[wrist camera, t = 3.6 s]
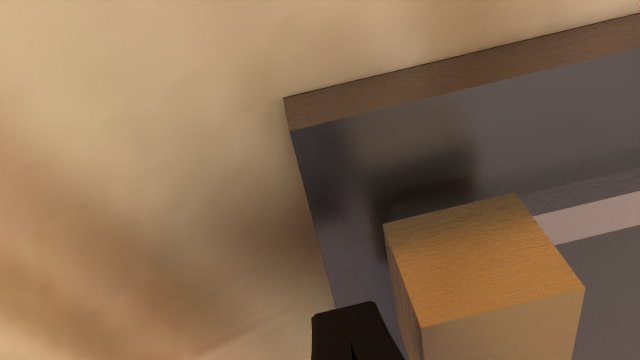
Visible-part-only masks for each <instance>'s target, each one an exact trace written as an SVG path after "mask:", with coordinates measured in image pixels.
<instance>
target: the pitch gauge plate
mask: <svg viewBox="0 0 640 360" xmlns="http://www.w3.org/2000/svg"><path fill="white" fill-rule="evenodd" d="M283 99H284V104H285V109H286V115H287V120H288V125H289V130H290V134H291V138H292V142H293V146H294V150H295V153H296V157H297V161H298V165H299V169H300V173H301V176H302V180H303V184H304V188H305V192H306V195H307V199H308V203H309V207H310V211H311V215H312V218H313V222H314V226H315V230H316V234H317V237H318V241H319V245H320V249H321V253H322V257H323V260H324V264H325V268H326V272H327V276H328V280H329V283H330V287H331V291H332V295H333V299H334V302H335V306H336V309H338V308H342V307H346V306H351V305H355V304H359V303H363V302H367V301H372V302H375V303H376V304H377V307H378V310H379V312H380V314H381V316H382V319H383V321H384V323H385V325H386V327H387V329H388V331H389V332H390V334H391V336H392V338H393V340H394V341H395V343H396V345H397V347H398V348H399V350H400V352H401V353H402V355H403V357H404V358H405V360H409V357H408V354H407V351H406V348H405V345H404V342H403V339H402V335H401V332H400V329H399V326H398V323H397V317H396V310H395V303H394V297H393V290H392V283H391V277H390V270H389V263H388V257H387V250H386V243H385V237H384V230H383V224H385V223H389V222H393V221H397V220H401V219H405V218H410V217H414V216H418V215H422V214H426V213H430V212H435V211H439V210H443V209H447V208H451V207H455V206H460V205H464V204H468V203H472V202H476V201H480V200H485V199H489V198H493V197H497V196H501V195H505V194H510V193H514V192H515V193H516V194H517V196H518V197H519V199H520V200H521V201H522V203H523V204H524V205H525V207H526V208H527V209H528V211H529V212H530V213H531V215H532V216H533V217H534V219H535V220H536V222H537V223H538V224H539V226H540V227H541V228H542V230H543V231H544V232H545V234H546V235H547V236H548V238H549V239H550V241H551V242H552V243H553V245H554V246H555V247H556V249H557V250H558V251H559V253H560V254H561V255H562V257H563V258H564V259H565V261H566V262H567V264H568V265H569V266H570V268H571V269H572V270H573V272H574V273H575V274H576V276H577V277H578V278H579V280H580V281H581V283H582V284H583V285H584V287H585V288H586V289H585V294H584V299H583V304H582V309H581V314H580V319H579V323H578V328H577V333H576V338H575V343H574V348H573V353H572V358H571V360H640V13H639V14H635V15H631V16H627V17H622V18H618V19H614V20H610V21H606V22H601V23H597V24H593V25H589V26H585V27H580V28H576V29H572V30H568V31H564V32H559V33H555V34H551V35H547V36H543V37H539V38H534V39H530V40H526V41H522V42H518V43H513V44H509V45H505V46H501V47H497V48H492V49H488V50H484V51H480V52H476V53H471V54H467V55H463V56H459V57H455V58H450V59H446V60H442V61H438V62H434V63H429V64H425V65H421V66H417V67H413V68H408V69H404V70H400V71H396V72H392V73H388V74H383V75H379V76H375V77H371V78H367V79H362V80H358V81H354V82H350V83H346V84H341V85H337V86H333V87H329V88H325V89H320V90H316V91H312V92H308V93H304V94H299V95H295V96H291V97H287V98H283Z"/></svg>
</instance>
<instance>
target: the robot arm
mask: <svg viewBox="0 0 640 360" xmlns="http://www.w3.org/2000/svg"><path fill="white" fill-rule="evenodd" d="M311 321H312V354H311V360H405V358H404V357H403V355H402V353H401V352H400V350H399V348H398V347H397V345H396V343H395V341H394V340H393V338H392V336H391V334H390V332H389V331H388V329H387V327H386V325H385V323H384V321H383V319H382V316H381V314H380V312H379V310H378V307H377V304H376V303H375V302H372V301H367V302H363V303H359V304H355V305H351V306H346V307H342V308H338V309H334V310H330V311H326V312H322V313H318V314H315V315H314V316H313V317H312V318H311Z"/></svg>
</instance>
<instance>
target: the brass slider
mask: <svg viewBox="0 0 640 360" xmlns="http://www.w3.org/2000/svg"><path fill="white" fill-rule="evenodd" d="M383 230H384V237H385V243H386V250H387V257H388V263H389V270H390V277H391V283H392V290H393V297H394V303H395V310H396V317H397V323H398V326H399V329H400V332H401V335H402V339H403V342H404V345H405V348H406V351H407V354H408V357H409V360H571V358H572V353H573V348H574V343H575V338H576V333H577V328H578V323H579V319H580V314H581V309H582V304H583V299H584V294H585V289H586V288H585V287H584V285H583V284H582V283H581V281H580V280H579V278H578V277H577V276H576V274H575V273H574V272H573V270H572V269H571V268H570V266H569V265H568V264H567V262H566V261H565V259H564V258H563V257H562V255H561V254H560V253H559V251H558V250H557V249H556V247H555V246H554V245H553V243H552V242H551V241H550V239H549V238H548V236H547V235H546V234H545V232H544V231H543V230H542V228H541V227H540V226H539V224H538V223H537V222H536V220H535V219H534V217H533V216H532V215H531V213H530V212H529V211H528V209H527V208H526V207H525V205H524V204H523V203H522V201H521V200H520V199H519V197H518V196H517V194H516V193H515V192H514V193H510V194H505V195H501V196H497V197H493V198H489V199H485V200H480V201H476V202H472V203H468V204H464V205H460V206H455V207H451V208H447V209H443V210H439V211H435V212H430V213H426V214H422V215H418V216H414V217H410V218H405V219H401V220H397V221H393V222H389V223H385V224H383Z"/></svg>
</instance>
